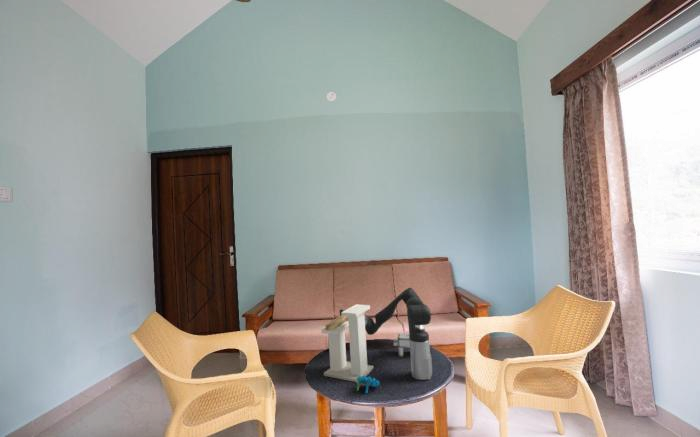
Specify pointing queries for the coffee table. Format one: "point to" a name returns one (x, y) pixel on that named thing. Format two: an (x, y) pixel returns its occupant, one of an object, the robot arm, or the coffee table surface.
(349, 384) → the coffee table surface
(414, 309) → the robot arm
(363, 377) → the blue legged figure
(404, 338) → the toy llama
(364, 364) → the two-step rack
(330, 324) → the wooden slat
